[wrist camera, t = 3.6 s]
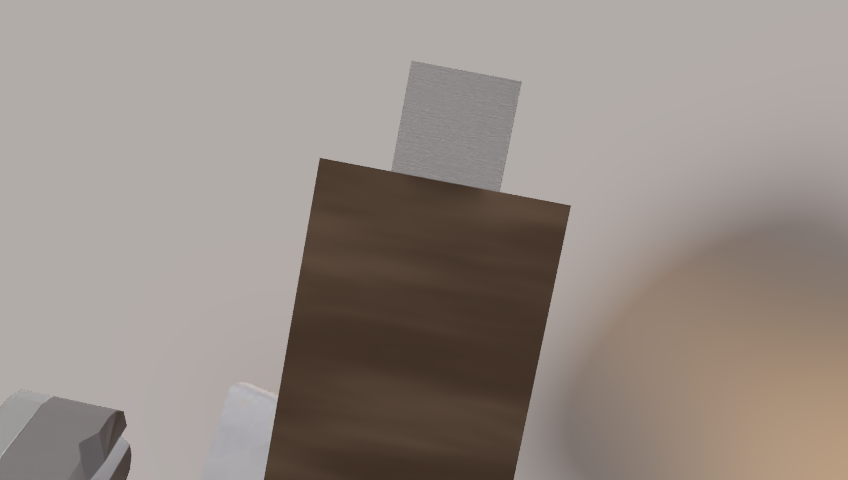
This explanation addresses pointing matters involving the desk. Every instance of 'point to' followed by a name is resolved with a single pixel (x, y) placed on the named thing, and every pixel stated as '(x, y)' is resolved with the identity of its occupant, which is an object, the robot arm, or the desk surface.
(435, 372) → the pedestal
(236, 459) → the desk surface
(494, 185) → the block
